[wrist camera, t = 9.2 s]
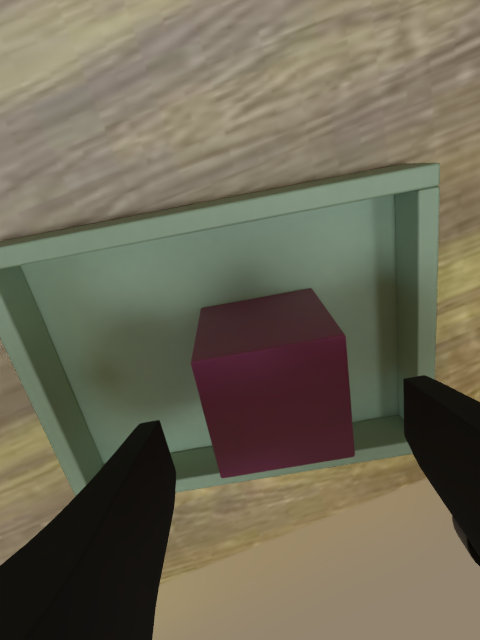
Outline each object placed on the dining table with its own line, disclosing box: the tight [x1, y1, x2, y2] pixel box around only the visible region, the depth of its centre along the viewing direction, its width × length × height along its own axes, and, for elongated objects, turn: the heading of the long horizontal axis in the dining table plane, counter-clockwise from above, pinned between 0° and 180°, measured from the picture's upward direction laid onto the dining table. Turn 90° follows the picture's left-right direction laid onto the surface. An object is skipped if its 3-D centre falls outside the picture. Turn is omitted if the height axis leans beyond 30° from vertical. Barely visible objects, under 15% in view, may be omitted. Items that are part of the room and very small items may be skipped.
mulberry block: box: [191, 288, 355, 478], centre depth 13 cm, size 4×4×4 cm
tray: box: [0, 163, 440, 496], centre depth 15 cm, size 11×15×2 cm
